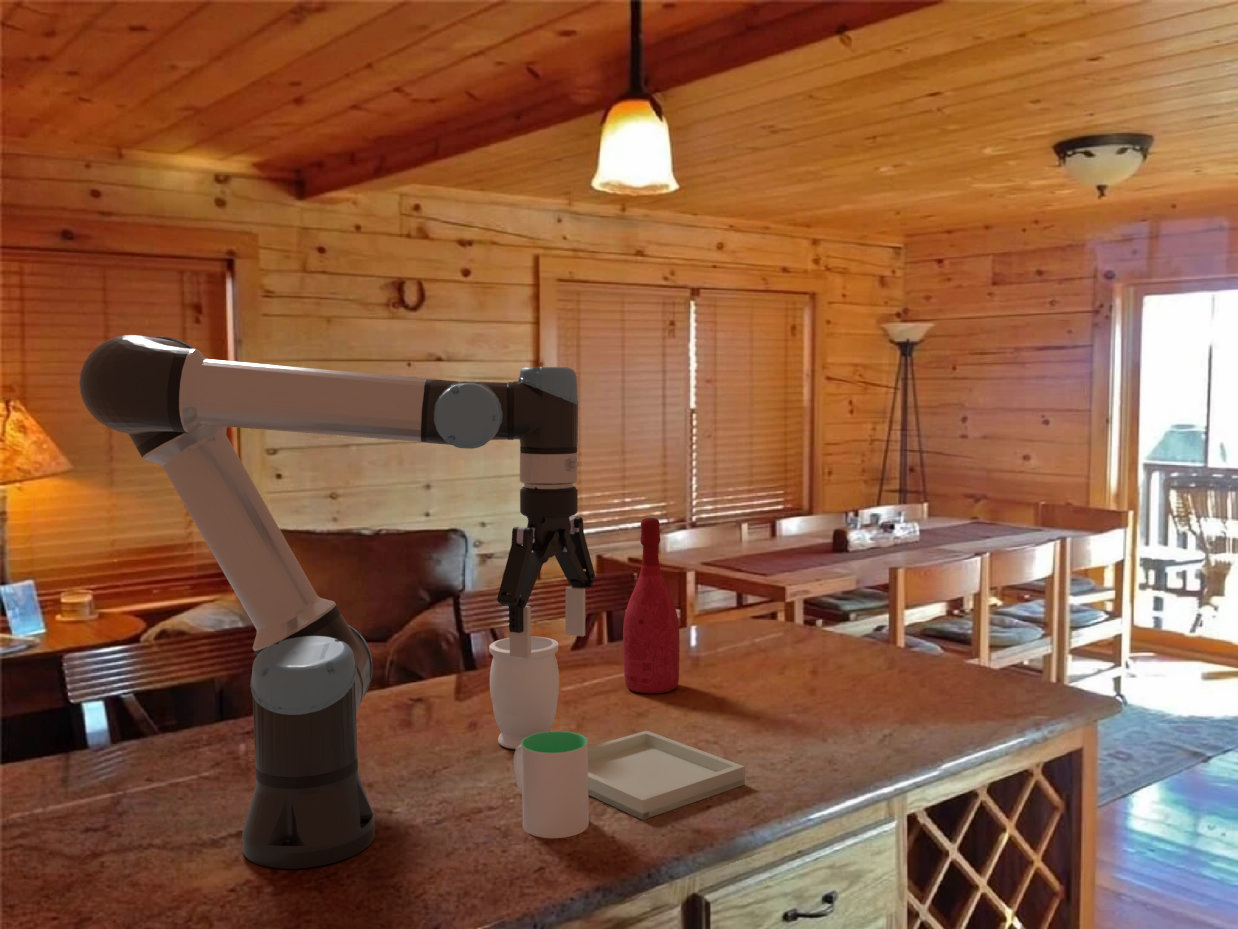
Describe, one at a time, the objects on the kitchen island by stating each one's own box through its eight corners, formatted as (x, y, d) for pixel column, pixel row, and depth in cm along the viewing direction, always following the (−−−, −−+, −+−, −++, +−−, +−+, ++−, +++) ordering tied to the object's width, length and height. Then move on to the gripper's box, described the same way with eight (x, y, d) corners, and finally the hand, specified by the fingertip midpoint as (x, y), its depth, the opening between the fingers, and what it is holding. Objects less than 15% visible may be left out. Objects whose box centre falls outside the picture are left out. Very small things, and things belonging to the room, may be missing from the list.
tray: (642, 820, 138) (642, 800, 137) (547, 776, 153) (547, 758, 153) (744, 784, 149) (744, 766, 149) (647, 747, 164) (646, 730, 164)
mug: (490, 815, 140) (488, 734, 139) (539, 798, 145) (538, 720, 144) (552, 844, 131) (550, 757, 130) (602, 824, 136) (601, 741, 136)
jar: (549, 755, 161) (548, 653, 160) (481, 751, 163) (479, 651, 162) (567, 732, 172) (566, 636, 170) (503, 728, 174) (501, 634, 172)
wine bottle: (689, 684, 197) (688, 516, 194) (661, 699, 189) (660, 523, 186) (642, 677, 202) (640, 513, 200) (613, 690, 194) (610, 519, 191)
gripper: (519, 495, 133) (520, 670, 134) (619, 479, 154) (619, 629, 156) (468, 492, 136) (469, 662, 138) (573, 476, 158) (573, 623, 160)
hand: (548, 645), depth 147 cm, fingers open, 13 cm apart
